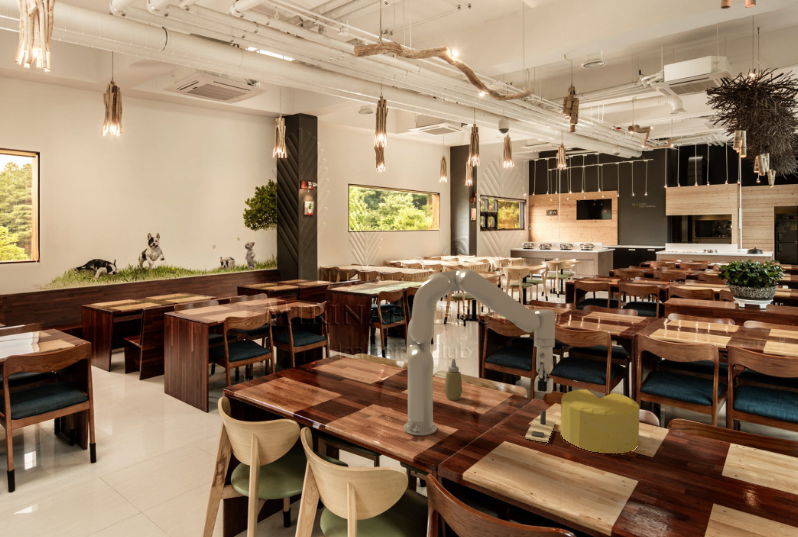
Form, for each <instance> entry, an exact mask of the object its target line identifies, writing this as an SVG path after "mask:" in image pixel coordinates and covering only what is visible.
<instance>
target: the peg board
mask: <svg viewBox="0 0 798 537" xmlns="http://www.w3.org/2000/svg"><path fill="white" fill-rule="evenodd" d="M555 423H556V420H550V419H547V412H546V410H544V409H541V410H540V417H539V418H538V417H534V419H533V421H532V423H531V424H530V426H529V428H528V430H527V432H526V434H525V436H524V439H525V438H526V439H531V440H536V441H542V442H547V443H548V444H549V442H550V440H549V438H550V439H551V437H552V434H553V432H554V429H553V428H555V427H554V425H555V426H556V424H555ZM552 431H553V432H552ZM551 433H552V434H551ZM550 436H551V437H550ZM548 441H549V442H548ZM547 443H546V444H547Z"/></svg>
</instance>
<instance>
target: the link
mask: <svg viewBox="0 0 798 537" xmlns="http://www.w3.org/2000/svg"><path fill="white" fill-rule="evenodd" d="M546 381H547V391H546V392H543V391H538V376H536V378H535V380H534V383H533V384H534V386H533V390H534V392H537V393H543V394H552V391H553V390H554V378H550V377H549V378H546Z"/></svg>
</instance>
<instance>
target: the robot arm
mask: <svg viewBox="0 0 798 537" xmlns="http://www.w3.org/2000/svg"><path fill="white" fill-rule="evenodd" d="M460 291H463V292H465V293H466V294H467V295H468V296H470V297H471V298H474V299H475V300H476V301H478V302H479V303H481V305H483V306H485V307H486V308H488V309H489V310H490V311H493V313H496V314H498V315H499V316H501V317H503V318H505V319H507V320H508V321H509V322H511V323H512V324H514V325H515V326H516V327H517V328H519V329H521V330H522V331H523V332H524V333H525V332H526V333H533V336H534V337H533V346H534V347H536V359H535V360H536V361H535V362H536V373H538V376H537V377H538V391H543V392H546V391H547V381H546V378H550V374H551V373H552V371H553V369H554V361H553V360H554V358H553V357H554V352H553V348H555V338H556V336H555V335H556V326H555V325H556V312H555V311H554V310H551V309H543V308H541V309H529V308H528V307H527V306H525V305H523V303H521V302H519V301H517V299H515V298H513V297H512V296H510V294H508V293H507V292H506V291H504V290H503V289H502V288H500V287H498V286H497V285H495V283H492V282H491V281H490V280H488V279H487V278H485V277H484V276H483V275H481V274H479V273H478V272H476V271H475V270H473V269H470V268H460V269H455V270H448V271H441V272H440V271H439V272H434V273H432V274H430V275H429V276H428V277H427V279H426V281H425V282H423V283H422V284H421V285H420V286H419V288H418V289H417V290H416V292H415V294H414V297H413V302H412V303H413V304H412V311H411V319H410V321H409V323H408V325H407V334H406V336H407V337H406V349H405V350H406V361H407V422H406V423H404V425H403V430H404V432H405V433H408V434H409V435H413V436H429V435H432V434H434V433H435V432H437V430H438V425H436V423H434V414H433V413H434V412H433V411H434V400H433V399H434V398H433V397H434V395H433V394H434V382H433V381H434V365H435V364H434V358H433V354H432V352H431V347H432V346H431V345H432V339H433V337H434V334H435V314H436V307H437V303H438V302H439V300H440V299H441V298H443V297H445V296H447V295H448V294H449V293H454V292H460Z"/></svg>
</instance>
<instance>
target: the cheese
mask: <svg viewBox="0 0 798 537" xmlns="http://www.w3.org/2000/svg"><path fill="white" fill-rule="evenodd" d="M560 399H561V400H560V404H561V405H560V436H561V435H562V437H563V439H565V440H566V441H568V442H569V443H571V444H573V445H575V446H577V447H579V448H582V449H585V450H588V451H592V452H599V453H613V454H614V453H616V454H617V453H624V452H629V451H632V450H634V449H635V448H636V447H637V446H638V447H639V439H640V438H639V436H640V404H638V402H636V401H635V400H634V399H633V398H631V397H628V396H626V395H623V394H620V393H619V392H618V393H617V392H612V393H610V394H607V395H604V396H603V397H600V398H599V397H598V396H597V395H595V394H594V393H592V392H591V391H590V390H588V389H587V388H585V389H575V390H571V391H568V392H566V393H564V394H563V395H562V396H561V398H560ZM562 437H561V438H562ZM563 439H562V440H563ZM588 451H587V452H588ZM592 452H591V453H592Z"/></svg>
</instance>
